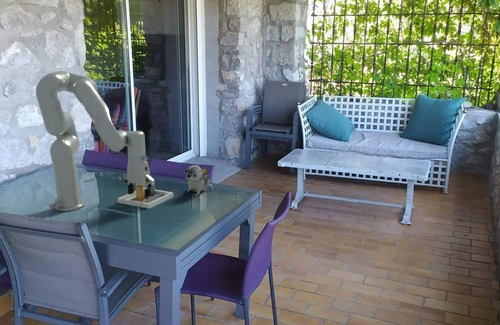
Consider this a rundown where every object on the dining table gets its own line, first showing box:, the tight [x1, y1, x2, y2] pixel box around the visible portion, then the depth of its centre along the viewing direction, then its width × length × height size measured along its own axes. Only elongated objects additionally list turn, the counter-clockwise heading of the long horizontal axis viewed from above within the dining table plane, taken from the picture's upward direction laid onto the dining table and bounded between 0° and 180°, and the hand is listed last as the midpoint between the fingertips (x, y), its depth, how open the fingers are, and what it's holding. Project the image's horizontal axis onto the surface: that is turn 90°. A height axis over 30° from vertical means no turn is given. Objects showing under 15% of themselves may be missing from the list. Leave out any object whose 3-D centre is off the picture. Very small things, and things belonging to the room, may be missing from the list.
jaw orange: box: [134, 184, 146, 202], centre depth 222 cm, size 5×5×8 cm
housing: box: [117, 187, 174, 210], centre depth 226 cm, size 18×18×3 cm
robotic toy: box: [184, 164, 214, 197], centre depth 236 cm, size 13×17×15 cm
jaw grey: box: [146, 180, 156, 197], centre depth 229 cm, size 5×5×8 cm
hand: (139, 195), depth 222 cm, fingers open, 9 cm apart
